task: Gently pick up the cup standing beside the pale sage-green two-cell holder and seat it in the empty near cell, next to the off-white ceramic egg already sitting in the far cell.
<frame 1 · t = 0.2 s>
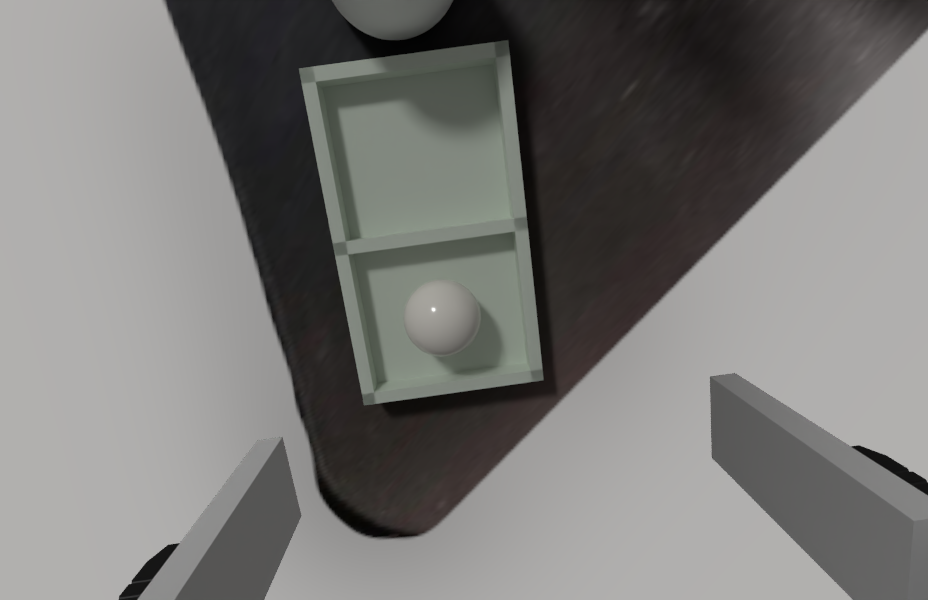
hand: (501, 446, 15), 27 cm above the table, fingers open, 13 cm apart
holder: (431, 233, 41), on the table
egg: (442, 308, 41), point 1 cm above the table, touching holder
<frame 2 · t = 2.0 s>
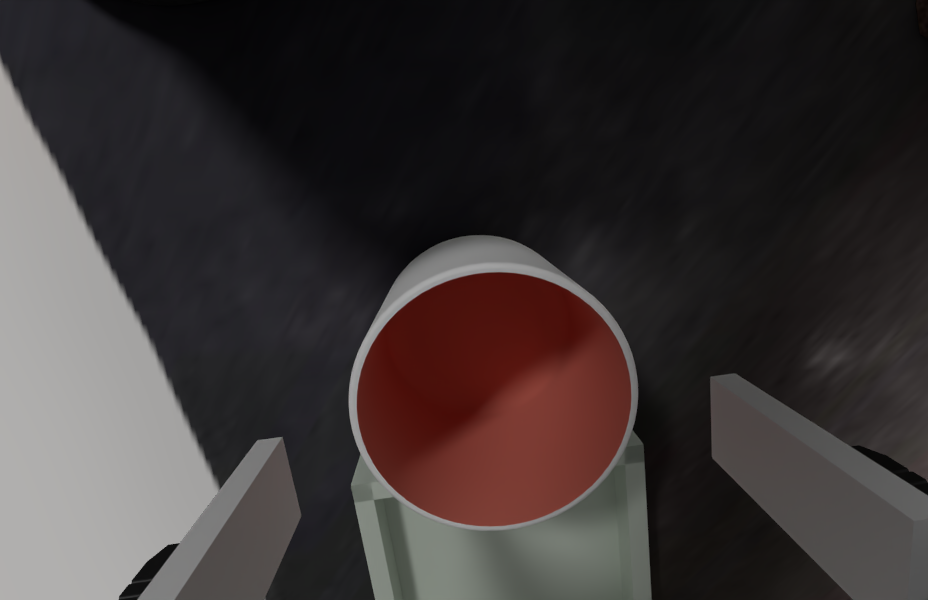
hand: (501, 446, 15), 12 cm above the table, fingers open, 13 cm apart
cup: (476, 323, 27), on the table
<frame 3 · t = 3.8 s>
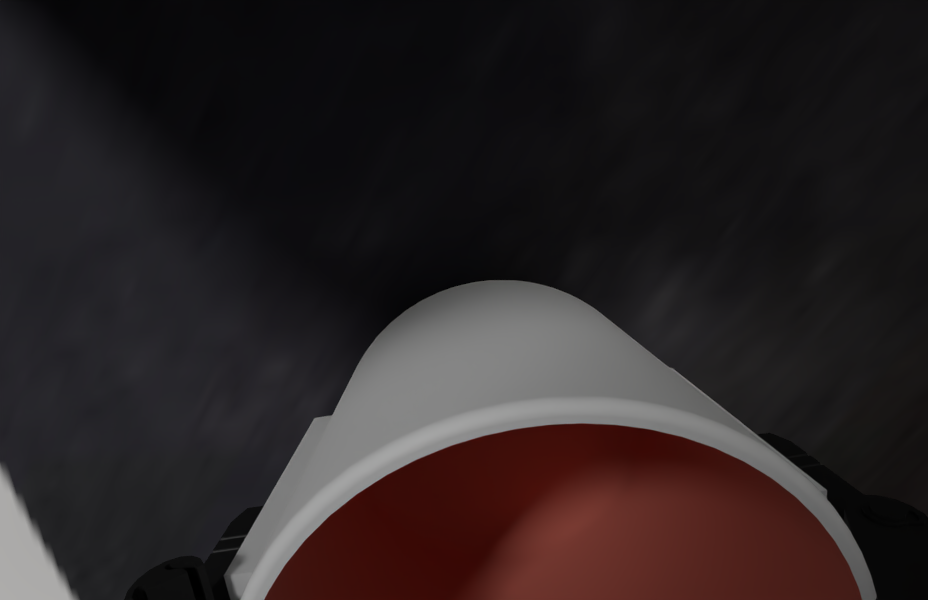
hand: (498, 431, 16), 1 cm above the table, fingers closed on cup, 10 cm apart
cup: (494, 411, 17), on the table, touching gripper
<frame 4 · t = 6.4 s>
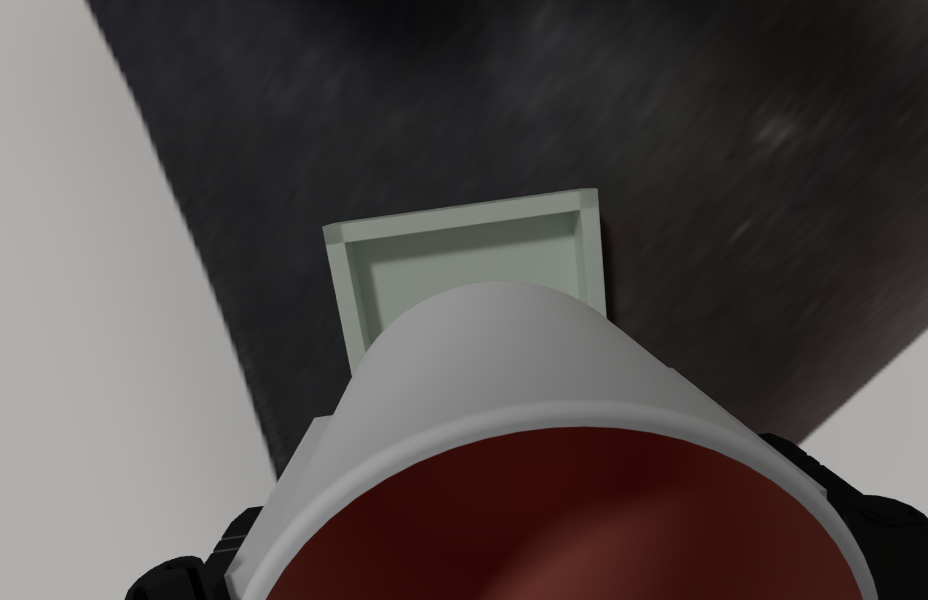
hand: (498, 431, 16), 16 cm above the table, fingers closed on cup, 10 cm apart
holder: (485, 403, 32), on the table
cup: (494, 412, 17), point 14 cm above the table, touching gripper
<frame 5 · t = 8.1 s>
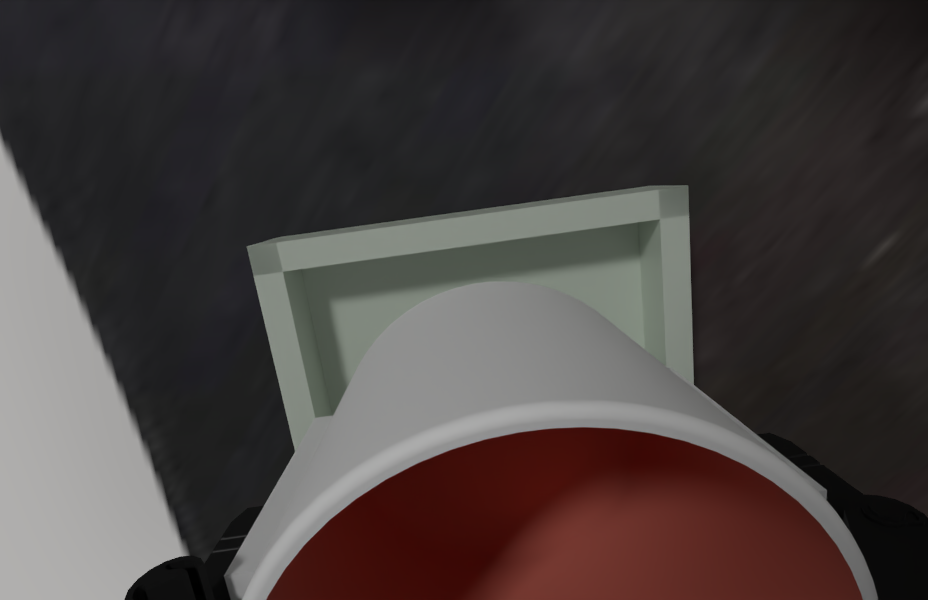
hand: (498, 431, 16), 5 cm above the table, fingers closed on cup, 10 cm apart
holder: (502, 495, 22), on the table
cup: (494, 412, 17), point 4 cm above the table, touching gripper
when the fingers open (4 cm above the table, at t = 9.3 s): cup drops 2 cm, resting on holder.
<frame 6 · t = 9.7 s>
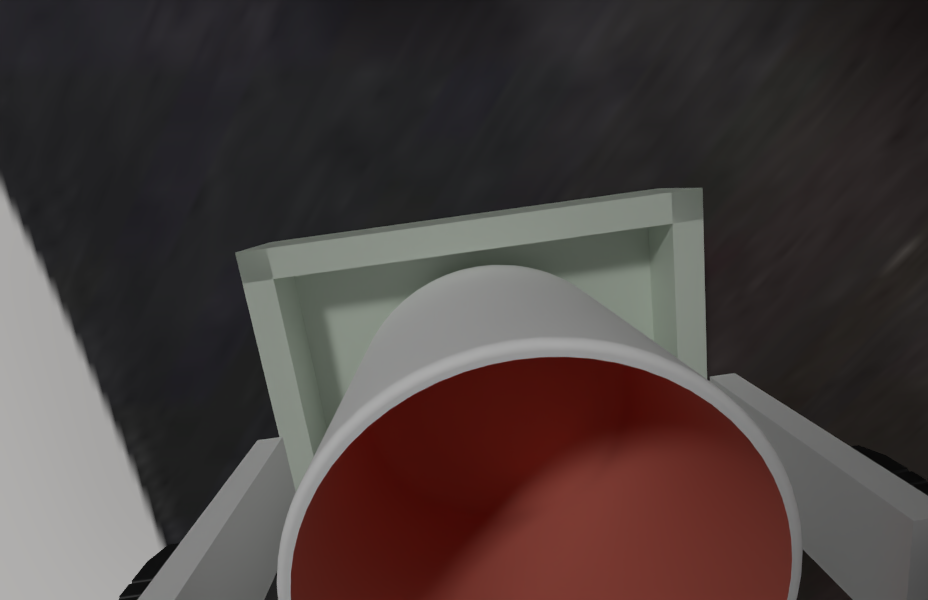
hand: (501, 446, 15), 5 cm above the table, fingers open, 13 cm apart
holder: (504, 511, 22), on the table
cup: (493, 385, 19), point 1 cm above the table, touching holder
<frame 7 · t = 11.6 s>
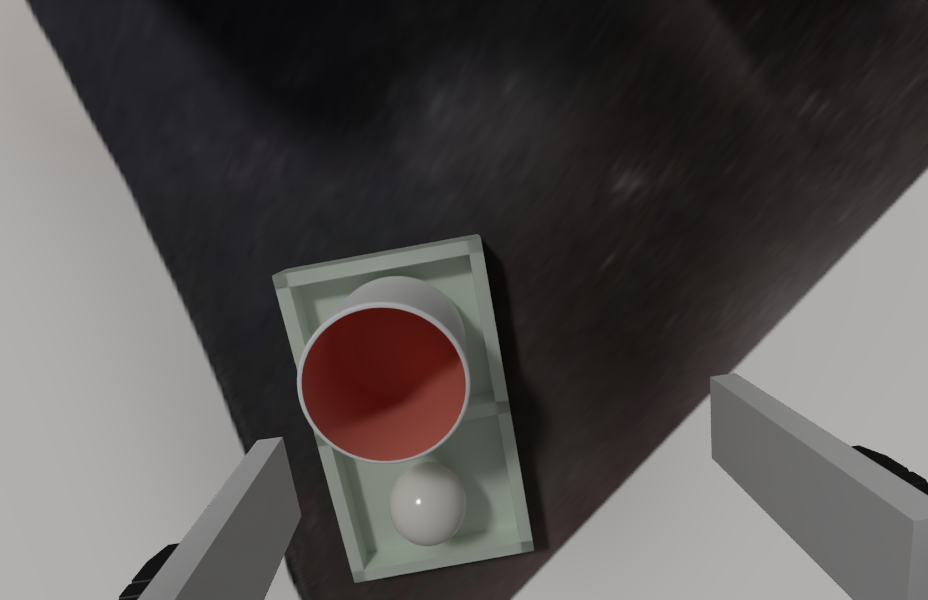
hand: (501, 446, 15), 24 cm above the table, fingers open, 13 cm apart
holder: (415, 405, 40), on the table
egg: (429, 480, 41), point 1 cm above the table, touching holder
cup: (400, 335, 38), point 1 cm above the table, touching holder
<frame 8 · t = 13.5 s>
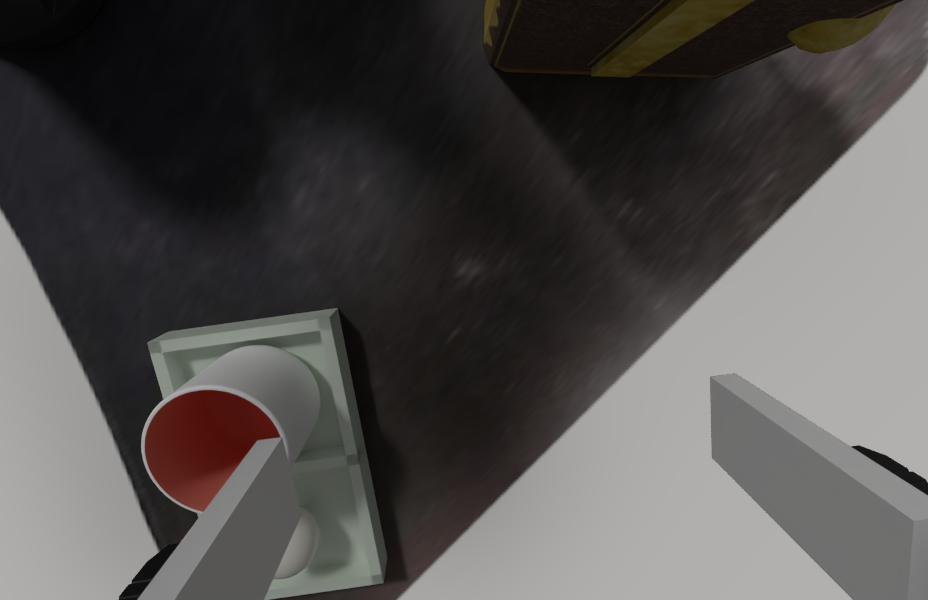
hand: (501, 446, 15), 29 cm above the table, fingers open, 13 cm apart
holder: (285, 452, 46), on the table
egg: (295, 518, 46), point 1 cm above the table, touching holder
cup: (267, 393, 43), point 1 cm above the table, touching holder
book: (620, 33, 39), on the table
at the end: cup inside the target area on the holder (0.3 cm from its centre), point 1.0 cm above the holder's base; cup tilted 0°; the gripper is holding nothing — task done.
